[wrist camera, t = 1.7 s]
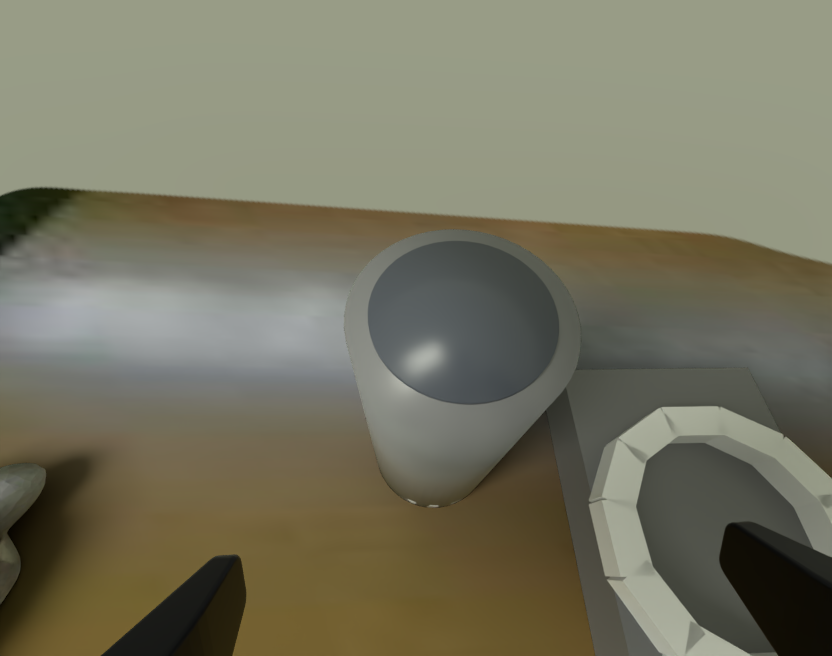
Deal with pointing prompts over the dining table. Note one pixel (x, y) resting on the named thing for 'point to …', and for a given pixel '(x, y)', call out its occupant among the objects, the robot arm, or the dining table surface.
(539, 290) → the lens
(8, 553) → the handheld device
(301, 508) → the dining table surface
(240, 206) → the dining table surface
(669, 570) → the grey rectangular block
